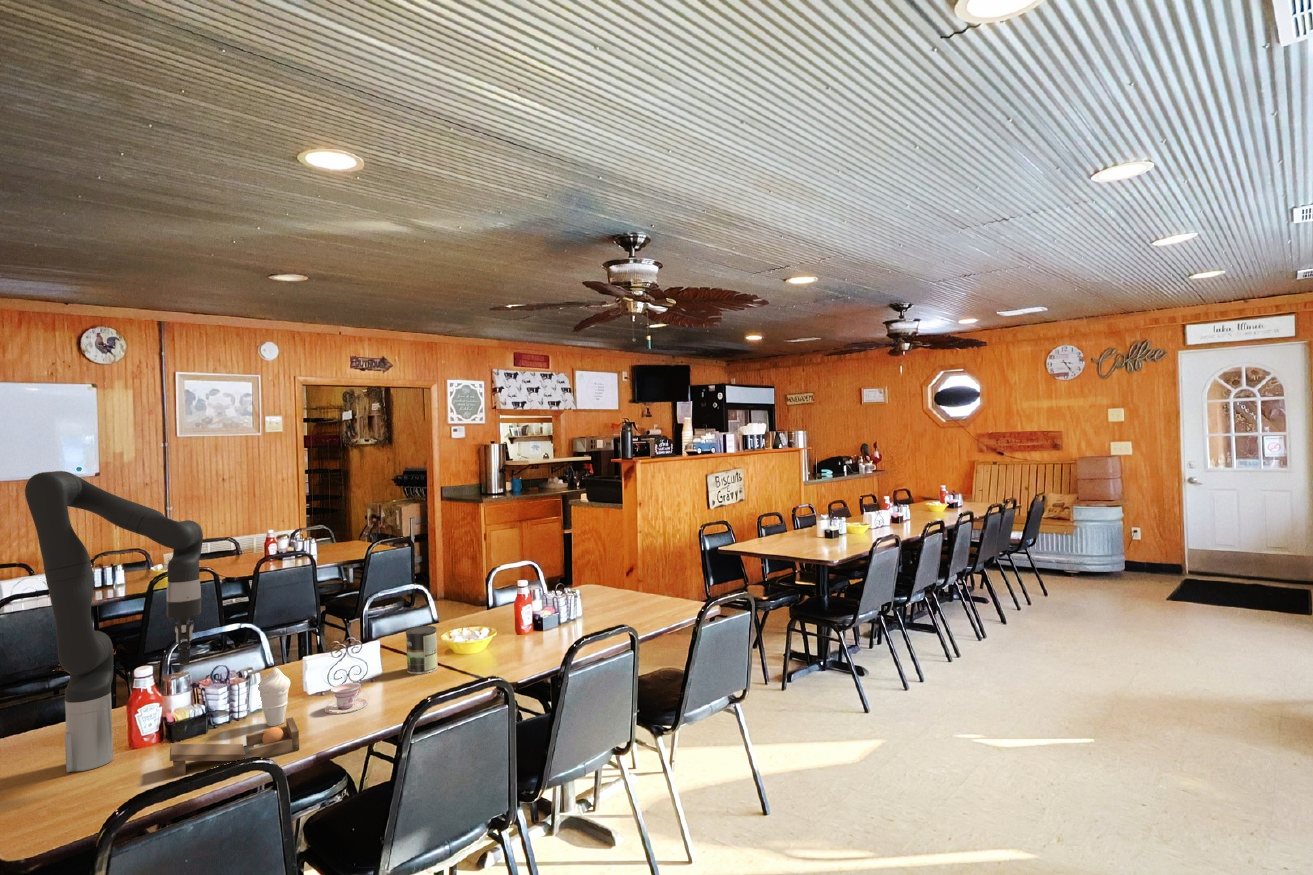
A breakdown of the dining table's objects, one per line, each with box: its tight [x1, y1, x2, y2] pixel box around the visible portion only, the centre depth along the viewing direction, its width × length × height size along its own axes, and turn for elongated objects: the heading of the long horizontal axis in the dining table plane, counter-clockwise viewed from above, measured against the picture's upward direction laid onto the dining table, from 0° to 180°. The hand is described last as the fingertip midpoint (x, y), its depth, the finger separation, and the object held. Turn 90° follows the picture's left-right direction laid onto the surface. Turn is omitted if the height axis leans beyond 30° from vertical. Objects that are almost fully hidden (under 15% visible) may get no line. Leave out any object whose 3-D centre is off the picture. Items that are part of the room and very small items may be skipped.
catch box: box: [243, 716, 300, 759], centre depth 190 cm, size 12×12×5 cm
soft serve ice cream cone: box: [258, 667, 291, 727], centre depth 208 cm, size 8×8×16 cm
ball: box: [262, 726, 284, 745], centre depth 191 cm, size 5×5×5 cm
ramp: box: [169, 743, 246, 778], centre depth 183 cm, size 16×8×6 cm, turn 123°
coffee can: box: [405, 625, 439, 675], centre depth 254 cm, size 10×10×14 cm
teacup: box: [324, 682, 368, 715], centre depth 220 cm, size 12×12×6 cm
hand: (184, 659), depth 190 cm, fingers open, 8 cm apart
